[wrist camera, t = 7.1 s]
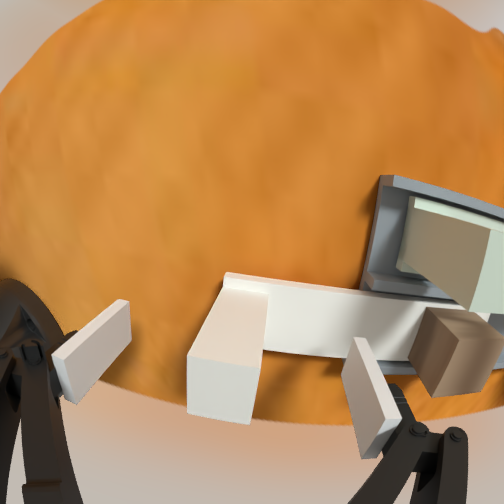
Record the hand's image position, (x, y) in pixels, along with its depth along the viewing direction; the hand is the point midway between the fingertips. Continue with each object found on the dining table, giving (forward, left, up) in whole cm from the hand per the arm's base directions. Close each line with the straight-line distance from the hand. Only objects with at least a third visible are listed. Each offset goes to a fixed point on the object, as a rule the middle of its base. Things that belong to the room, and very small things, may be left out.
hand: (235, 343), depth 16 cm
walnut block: (+16, 0, -4) cm, 16 cm away
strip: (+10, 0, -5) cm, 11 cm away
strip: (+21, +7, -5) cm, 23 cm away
